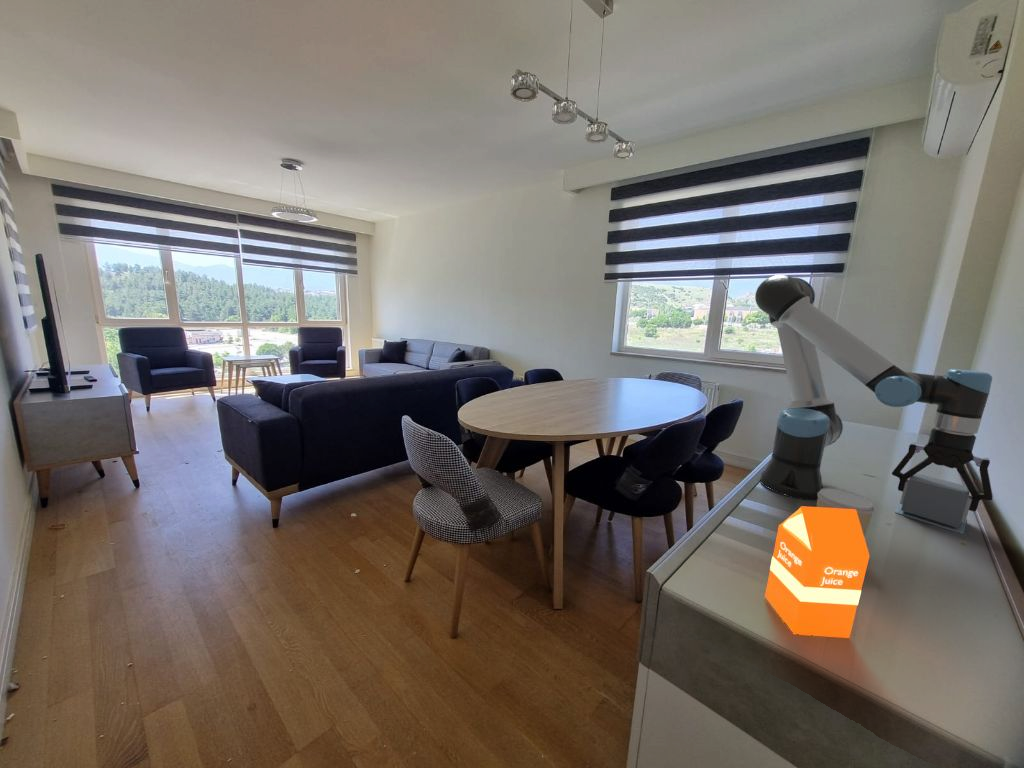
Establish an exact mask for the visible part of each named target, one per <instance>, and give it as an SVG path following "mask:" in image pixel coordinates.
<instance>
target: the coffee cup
mask: <svg viewBox="0 0 1024 768" xmlns="http://www.w3.org/2000/svg"><path fill="white" fill-rule="evenodd" d="M817 496H818V499H816V501H817V502H816V507H823V508H840V509H856V511H857V515H858V518H859V522H860V525H861V528H862V532H863V535H864V537H865V535H866V534H867V532H868V531H867V530H868V528H869V524H870V522H871V518H872V515H873V514H874V512H875V506H874V503H873V502H871V501H870V500H869V499H867V498H865V497H863V496H862V495H859V494H857V493H854V492H851V491H847V490H843V489H837V488H831V487H829V488H828V487H827V488H824V489H821V490H820V492H818V495H817Z"/></svg>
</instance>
